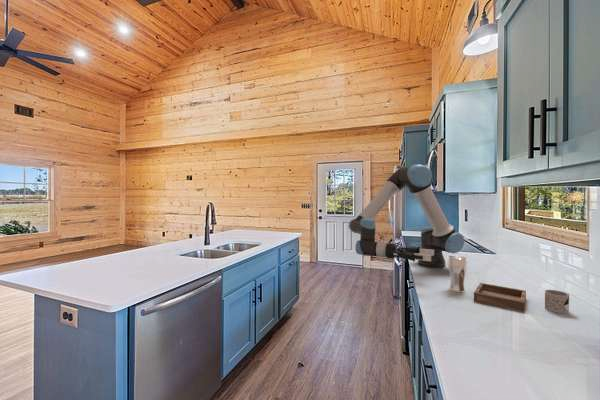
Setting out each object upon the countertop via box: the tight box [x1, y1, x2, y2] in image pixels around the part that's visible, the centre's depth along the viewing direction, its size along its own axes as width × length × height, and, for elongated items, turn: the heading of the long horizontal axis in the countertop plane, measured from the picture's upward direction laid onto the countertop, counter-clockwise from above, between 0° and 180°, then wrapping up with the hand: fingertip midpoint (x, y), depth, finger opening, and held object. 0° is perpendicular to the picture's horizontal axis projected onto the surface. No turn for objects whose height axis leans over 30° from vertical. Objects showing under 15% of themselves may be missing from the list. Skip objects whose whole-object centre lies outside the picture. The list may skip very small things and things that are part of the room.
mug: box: [544, 289, 570, 315], centre depth 106 cm, size 10×7×7 cm
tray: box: [473, 282, 527, 313], centre depth 115 cm, size 16×16×4 cm
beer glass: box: [448, 255, 467, 293], centre depth 126 cm, size 7×7×15 cm
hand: (432, 255), depth 131 cm, fingers open, 13 cm apart
